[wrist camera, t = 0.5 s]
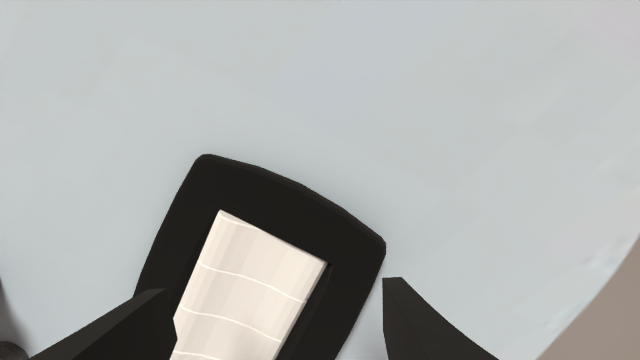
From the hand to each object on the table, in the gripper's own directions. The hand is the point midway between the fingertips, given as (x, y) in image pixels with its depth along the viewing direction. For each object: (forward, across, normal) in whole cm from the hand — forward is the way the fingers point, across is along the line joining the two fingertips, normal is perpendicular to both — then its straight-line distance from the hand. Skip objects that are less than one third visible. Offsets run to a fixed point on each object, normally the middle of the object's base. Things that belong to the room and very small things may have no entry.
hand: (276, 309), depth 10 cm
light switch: (+10, +4, +7) cm, 13 cm away
